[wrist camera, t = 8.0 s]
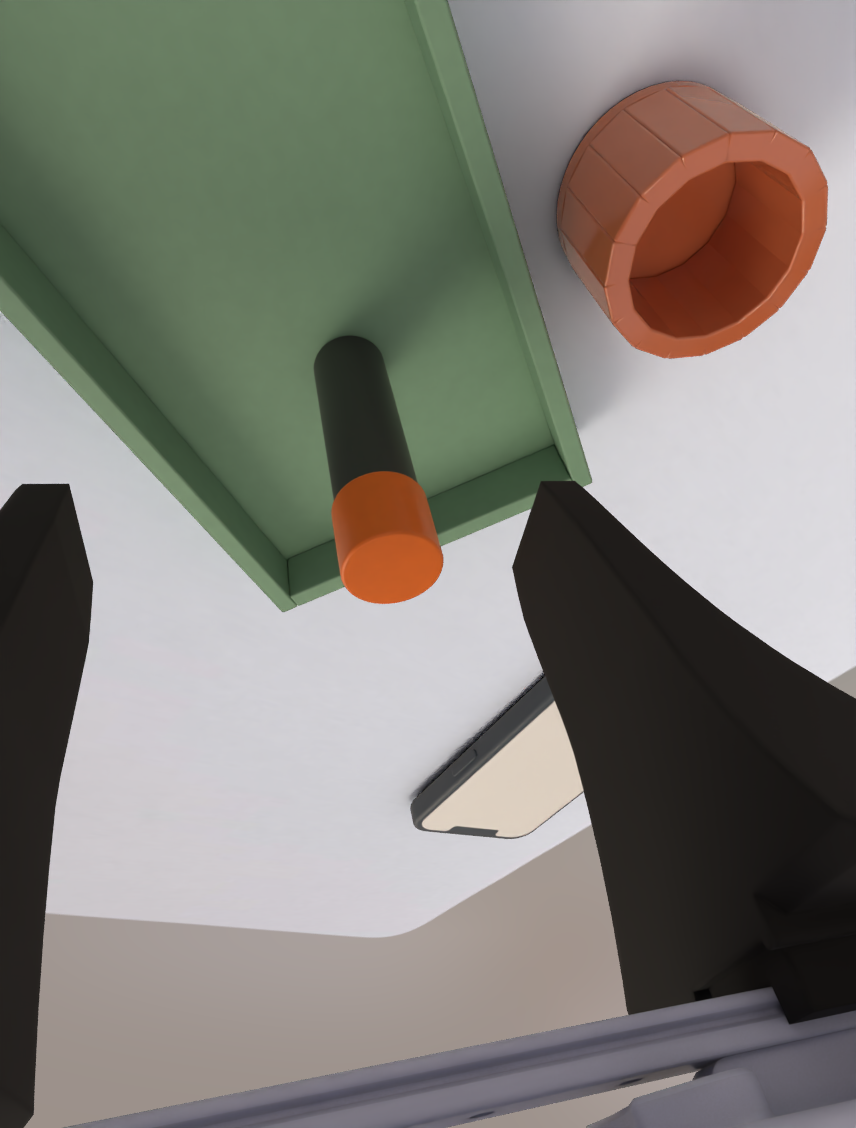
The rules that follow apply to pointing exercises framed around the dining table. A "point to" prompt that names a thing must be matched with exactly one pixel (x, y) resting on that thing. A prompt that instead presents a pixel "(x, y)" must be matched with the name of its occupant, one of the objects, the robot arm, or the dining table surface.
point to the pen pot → (690, 218)
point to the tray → (273, 256)
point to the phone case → (506, 776)
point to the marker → (372, 478)
